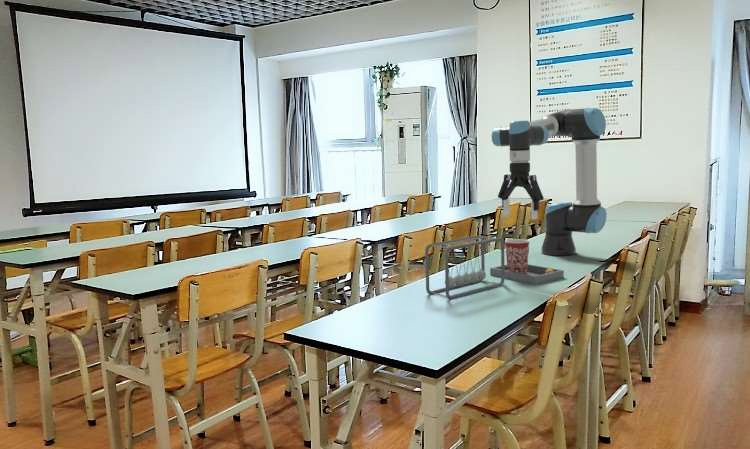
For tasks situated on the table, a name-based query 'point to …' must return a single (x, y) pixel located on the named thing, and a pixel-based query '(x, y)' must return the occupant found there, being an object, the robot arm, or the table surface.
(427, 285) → the newton's cradle
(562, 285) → the table surface
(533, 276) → the tray
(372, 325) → the table surface
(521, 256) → the mug
